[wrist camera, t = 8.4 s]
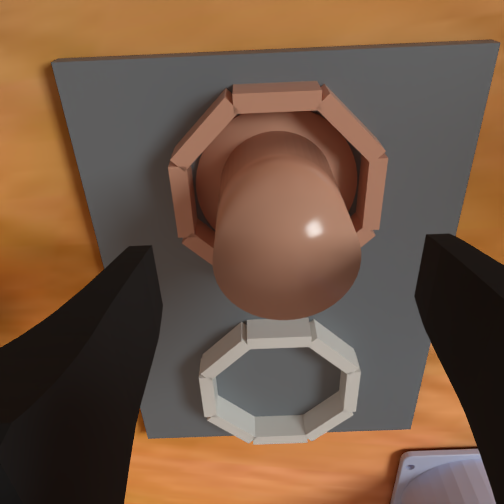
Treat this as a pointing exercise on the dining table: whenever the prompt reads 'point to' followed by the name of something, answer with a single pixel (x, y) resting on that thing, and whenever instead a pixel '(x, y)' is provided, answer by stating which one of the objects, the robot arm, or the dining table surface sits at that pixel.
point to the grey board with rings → (206, 205)
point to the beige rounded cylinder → (282, 229)
